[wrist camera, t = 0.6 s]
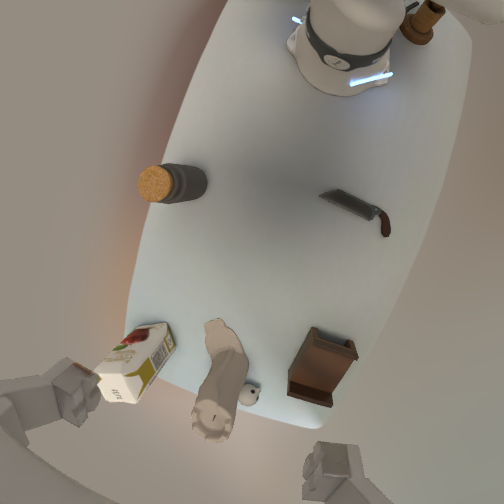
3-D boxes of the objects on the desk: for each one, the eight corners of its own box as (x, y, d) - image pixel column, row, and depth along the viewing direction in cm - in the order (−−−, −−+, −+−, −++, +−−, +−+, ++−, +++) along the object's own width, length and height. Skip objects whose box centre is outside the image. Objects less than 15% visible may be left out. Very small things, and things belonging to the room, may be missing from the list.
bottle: (170, 189, 51) (127, 193, 36) (186, 160, 49) (146, 153, 35) (197, 205, 51) (161, 215, 36) (213, 176, 49) (182, 174, 35)
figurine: (266, 392, 58) (264, 407, 53) (245, 398, 59) (242, 413, 54) (255, 375, 57) (252, 390, 52) (234, 382, 58) (230, 396, 53)
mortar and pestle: (394, 31, 38) (427, -17, 21) (404, 13, 36) (436, -34, 19) (424, 51, 38) (466, 10, 21) (432, 32, 36) (472, -9, 19)
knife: (396, 217, 46) (397, 217, 46) (386, 238, 47) (388, 238, 47) (325, 181, 47) (325, 181, 46) (315, 203, 48) (315, 203, 47)
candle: (228, 314, 54) (197, 378, 35) (254, 372, 57) (237, 444, 38) (195, 323, 56) (153, 384, 37) (222, 379, 58) (196, 447, 39)
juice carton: (181, 350, 58) (143, 407, 40) (147, 353, 59) (104, 405, 41) (169, 318, 56) (123, 369, 38) (135, 323, 58) (85, 369, 40)
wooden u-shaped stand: (311, 326, 53) (314, 348, 45) (353, 341, 53) (361, 364, 45) (288, 370, 56) (286, 395, 48) (327, 383, 55) (330, 408, 48)
